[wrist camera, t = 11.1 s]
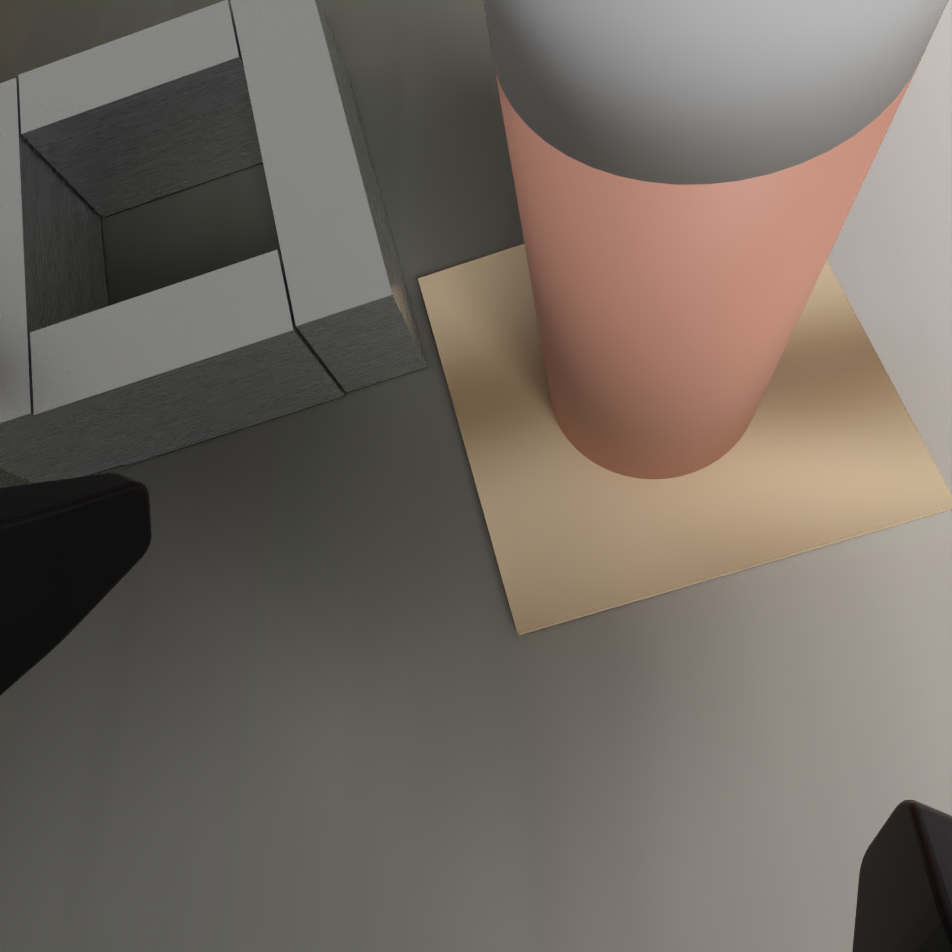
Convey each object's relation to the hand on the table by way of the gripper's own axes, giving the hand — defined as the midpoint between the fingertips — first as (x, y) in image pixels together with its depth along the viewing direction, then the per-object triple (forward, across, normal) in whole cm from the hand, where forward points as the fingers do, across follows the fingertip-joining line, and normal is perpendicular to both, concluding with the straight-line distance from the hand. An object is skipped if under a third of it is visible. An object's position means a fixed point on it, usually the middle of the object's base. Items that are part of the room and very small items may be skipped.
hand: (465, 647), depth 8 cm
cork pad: (+12, 0, +1) cm, 12 cm away
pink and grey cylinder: (+12, 0, 0) cm, 12 cm away
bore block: (+12, +13, +1) cm, 18 cm away
